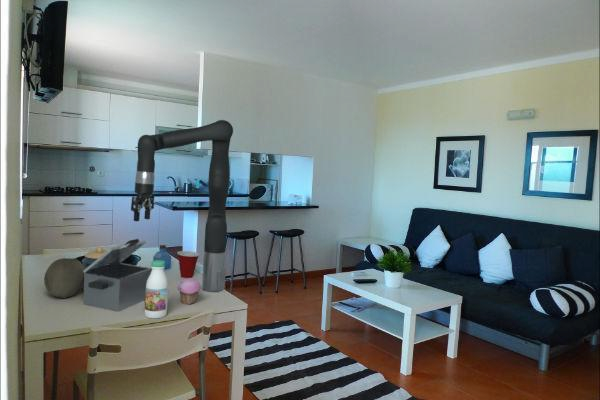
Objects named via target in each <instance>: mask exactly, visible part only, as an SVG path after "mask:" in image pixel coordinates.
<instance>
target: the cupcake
mask: <svg viewBox="0 0 600 400" xmlns="http://www.w3.org/2000/svg"><path fill="white" fill-rule="evenodd" d="M201 289H202V284H201V283H200V282H199V281H198V280H197V279H196V278H193V277H192V278H183V280H181V281H180V283H179V284H178V285H177V290H178V292H179V295H180V297H179V299H180V303H182V304H184V305H191V304H194V303H195V302H196V301H197V298H198V295H199V293H200V291H201Z"/></svg>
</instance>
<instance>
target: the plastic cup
mask: <svg viewBox="0 0 600 400" xmlns="http://www.w3.org/2000/svg"><path fill="white" fill-rule="evenodd" d="M200 256H201V254H200V253H199V252H196V251H195V252H194V251H186V250H183V251H182V250H181V251H177V259H178V265H179V275H180V277H181V278H183V279H186V278H193V277H194V275H195V271H196V266H197V262H198V259H199V257H200Z"/></svg>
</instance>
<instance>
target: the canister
mask: <svg viewBox="0 0 600 400" xmlns="http://www.w3.org/2000/svg"><path fill="white" fill-rule="evenodd" d="M107 251H108V250H105V249H103V247H102V246H98V247H97V246H96V249H95V250H90V251H88V252H87V253H85V254H84V258H83V259H82V260H81V263H82V264H83V265H84V267H85V269H86V268H87V267H88V266H90V265H91V264H92V263H93V262H95V261H96V260H97V259H98V258H99V257H101V256H102V255H103V254H104V253H106V252H107ZM81 289H82V290H83V291H84V283H83V284H82V286H81Z"/></svg>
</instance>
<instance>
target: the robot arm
mask: <svg viewBox="0 0 600 400" xmlns="http://www.w3.org/2000/svg"><path fill="white" fill-rule="evenodd" d="M233 133H234V128H233V126H232V124H231V122H229V121H227V120H225V119H219V120H217V121H215V122H212V123H208V124H206V125H201V126H197V127H191V128H184V129H183V128H182V129H176V130H169V131H165V132H162V133H157V134H151V135H150V134H143V135H141V136H140V137H139V138H138V140H137V163H136V173H135V179H134V180H135V181H134V193H135V194H136V196H131V203H130V211H132V212H133V221H134V222H140V215H141V213H140V212H141V211H142V209H143V208H144V218H143V219H144V220H150V219H151V211H152V210H154V208H155V195H154V190H155V167H156V166H155V165H156V162H155V161H156V160H155V154H156V153H155V152H157V151H161V150H164V149H172V148H174V149H175V148H178V147H183V146H188V145H191V144H196V143H200V142H207V141H209V142H210V141H211V143H212V144H211V147H212V148H211V149H212V150H211V151H212V152H211V157H210V161H209V162H210V163H209V168H208V179H207V180H208V183H207V184H208V186H207V187H208V192H207V193H208V200H209V204H208V213H207V218H206V223H205V228H204V229H205V230H204V248H203V249H204V251H203V267H202V283H201V289H202V290H203V291H205V292H211V293H212V292H214V293H215V292H216V293H219V292H221V291H222V290H225V288H226V273H227V268H226V267H225V263H226V262H225V261H226V247H227V246H226V245H227V232H228V225H227V214H226V205H227V199H228V195H229V190H230V181H231V180H230V179H231V166H230V156H229V154H230V153H229V152H230V144H231V139H232V137H233Z"/></svg>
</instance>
